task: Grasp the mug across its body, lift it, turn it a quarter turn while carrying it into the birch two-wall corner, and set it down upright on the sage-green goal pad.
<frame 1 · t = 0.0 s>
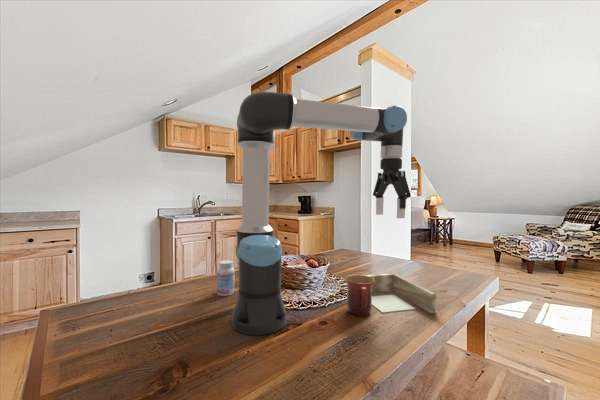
hand: (389, 216, 103), 28 cm above the table, fingers open, 13 cm apart
mug: (359, 314, 84), on the table
back wall: (410, 299, 96), on the table
goal pad: (388, 303, 92), on the table
pill bottle: (225, 293, 99), on the table
side wall: (375, 291, 104), on the table
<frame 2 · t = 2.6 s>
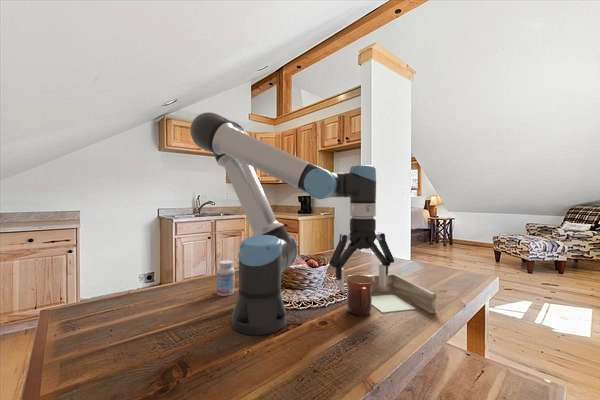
hand: (362, 288, 83), 8 cm above the table, fingers open, 13 cm apart
nothing on the table moved.
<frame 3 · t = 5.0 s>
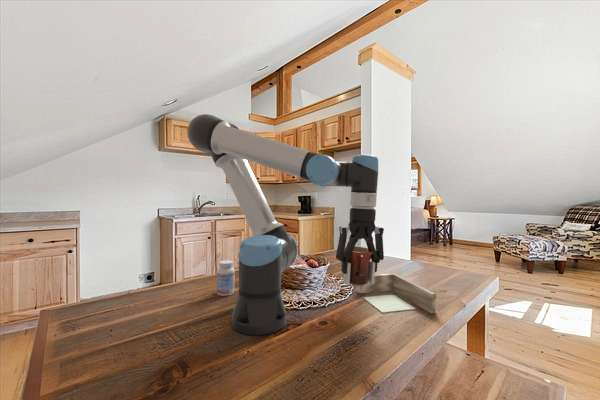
hand: (358, 283, 84), 9 cm above the table, fingers closed on mug, 7 cm apart
mug: (357, 284, 84), point 9 cm above the table, touching gripper
everything else where it was.
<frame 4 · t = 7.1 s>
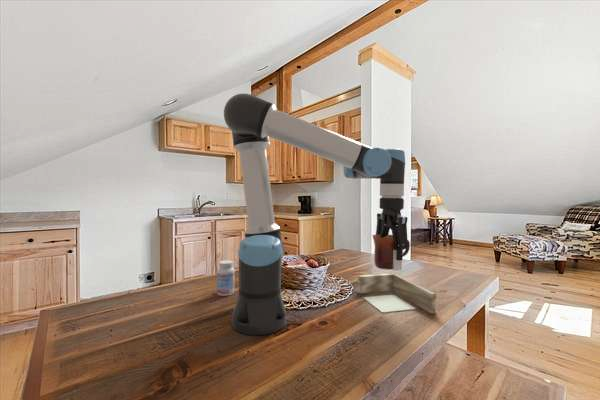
hand: (389, 266, 92), 12 cm above the table, fingers closed on mug, 7 cm apart
mug: (390, 267, 91), point 12 cm above the table, touching gripper
everything else where it was.
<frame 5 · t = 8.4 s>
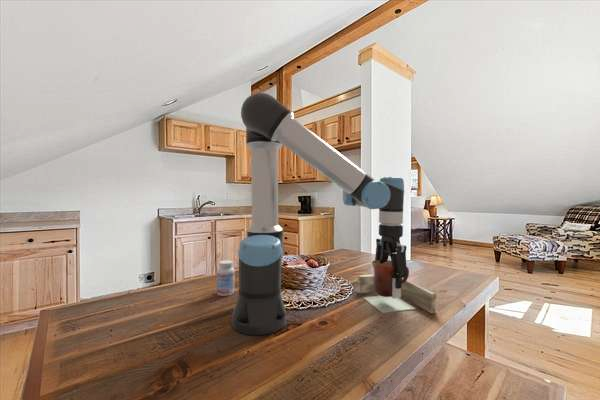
hand: (389, 292, 92), 4 cm above the table, fingers closed on mug, 7 cm apart
mug: (389, 294, 92), point 3 cm above the table, touching gripper
everything else where it was.
when the fingers open (2 cm above the table, at t = 9.3 s): mug drops 1 cm, resting on goal pad.
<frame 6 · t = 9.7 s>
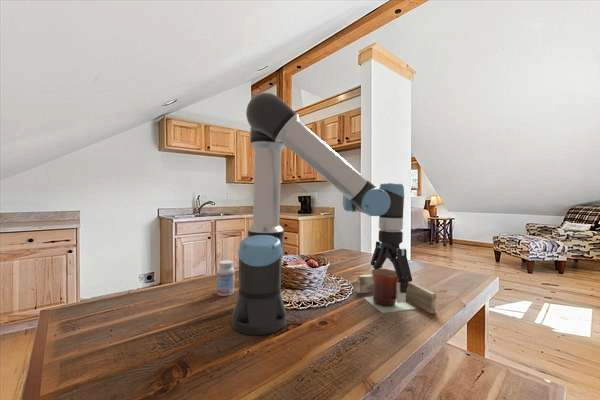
hand: (388, 294, 92), 3 cm above the table, fingers open, 13 cm apart
mug: (389, 303, 92), resting on goal pad
everything else where it was.
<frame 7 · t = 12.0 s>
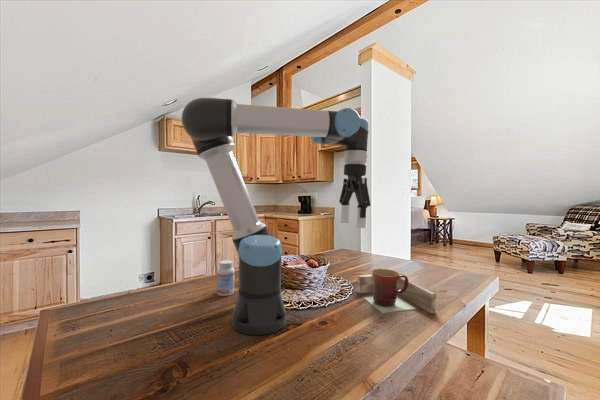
hand: (352, 225, 97), 25 cm above the table, fingers open, 13 cm apart
nothing on the table moved.
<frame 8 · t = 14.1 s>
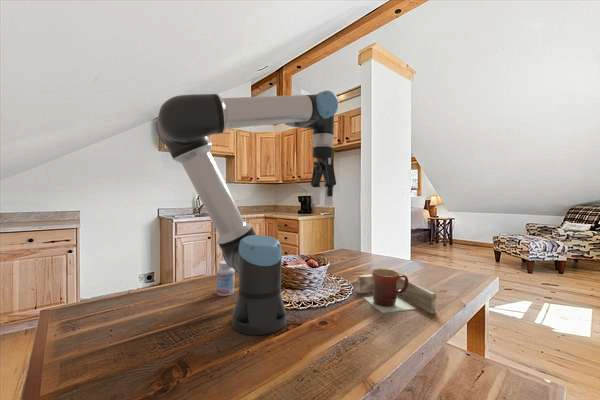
hand: (321, 205, 103), 32 cm above the table, fingers open, 13 cm apart
nothing on the table moved.
at the end: mug inside the target area (0.5 cm from its centre), resting on goal pad; mug tilted 0°; the gripper is holding nothing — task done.
